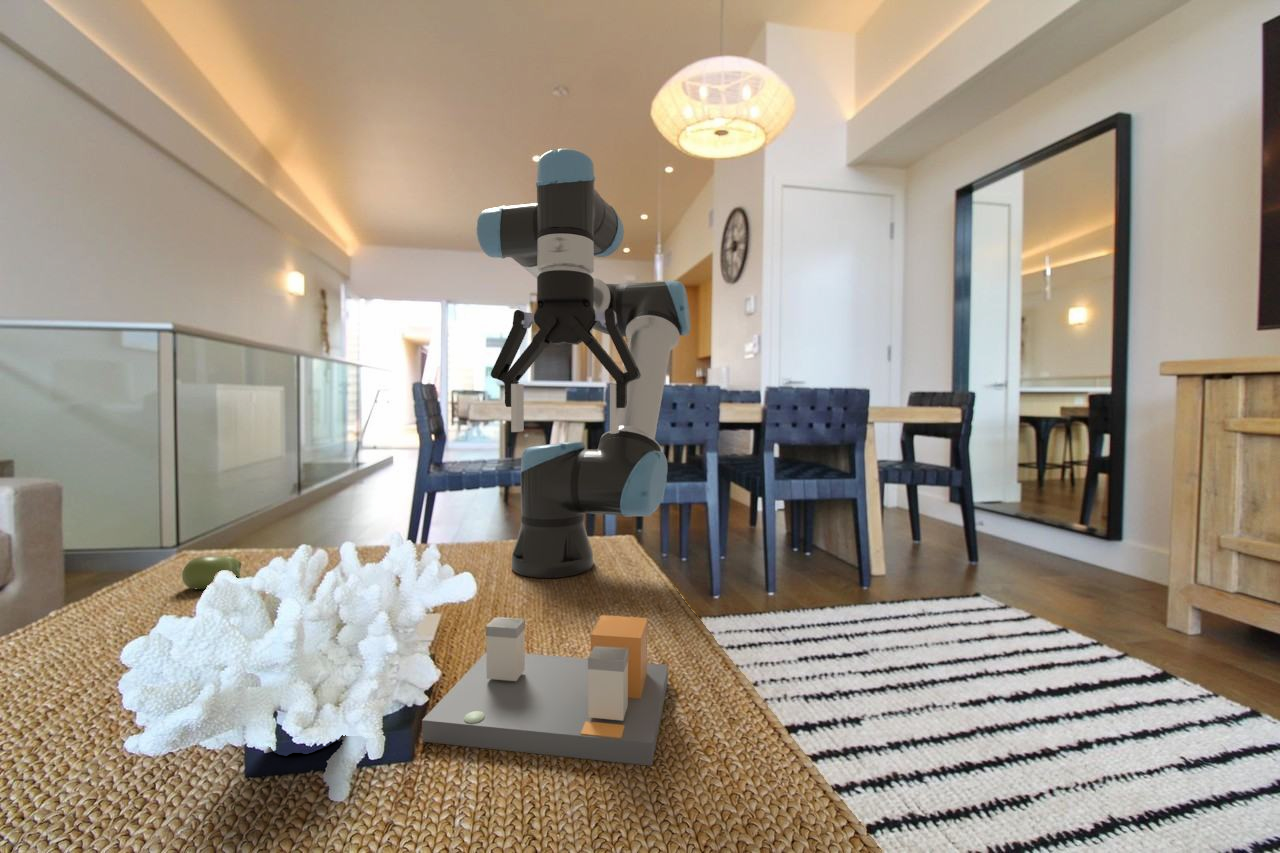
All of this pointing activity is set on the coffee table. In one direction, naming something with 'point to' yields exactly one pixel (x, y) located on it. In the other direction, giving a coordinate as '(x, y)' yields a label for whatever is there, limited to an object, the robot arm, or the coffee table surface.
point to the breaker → (505, 648)
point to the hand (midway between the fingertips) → (565, 432)
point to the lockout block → (626, 645)
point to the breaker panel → (547, 713)
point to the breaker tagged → (608, 682)
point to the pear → (208, 570)
